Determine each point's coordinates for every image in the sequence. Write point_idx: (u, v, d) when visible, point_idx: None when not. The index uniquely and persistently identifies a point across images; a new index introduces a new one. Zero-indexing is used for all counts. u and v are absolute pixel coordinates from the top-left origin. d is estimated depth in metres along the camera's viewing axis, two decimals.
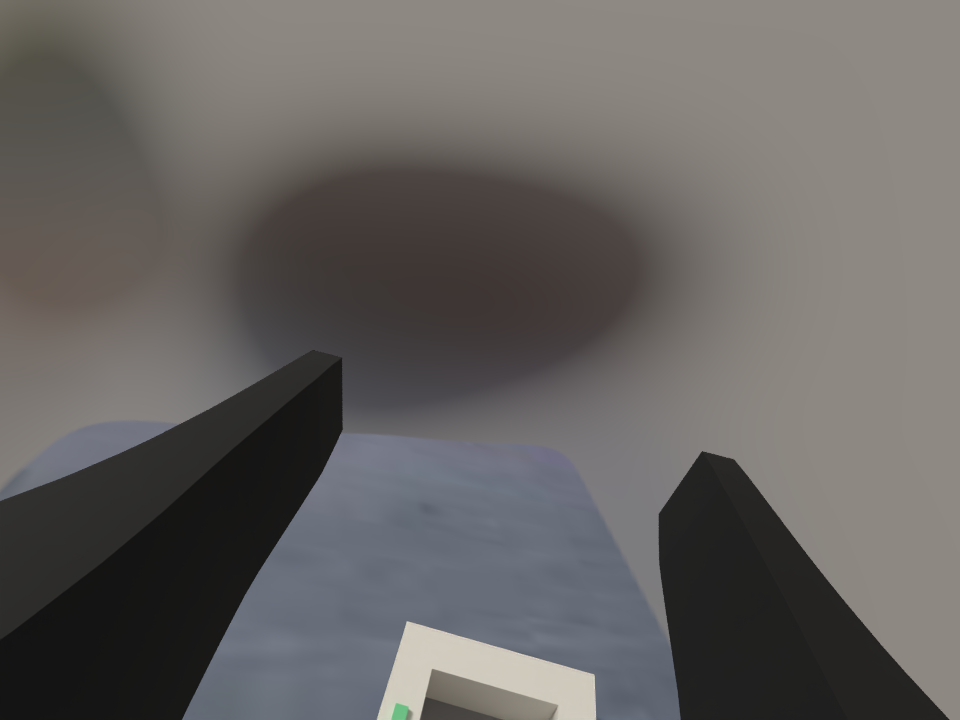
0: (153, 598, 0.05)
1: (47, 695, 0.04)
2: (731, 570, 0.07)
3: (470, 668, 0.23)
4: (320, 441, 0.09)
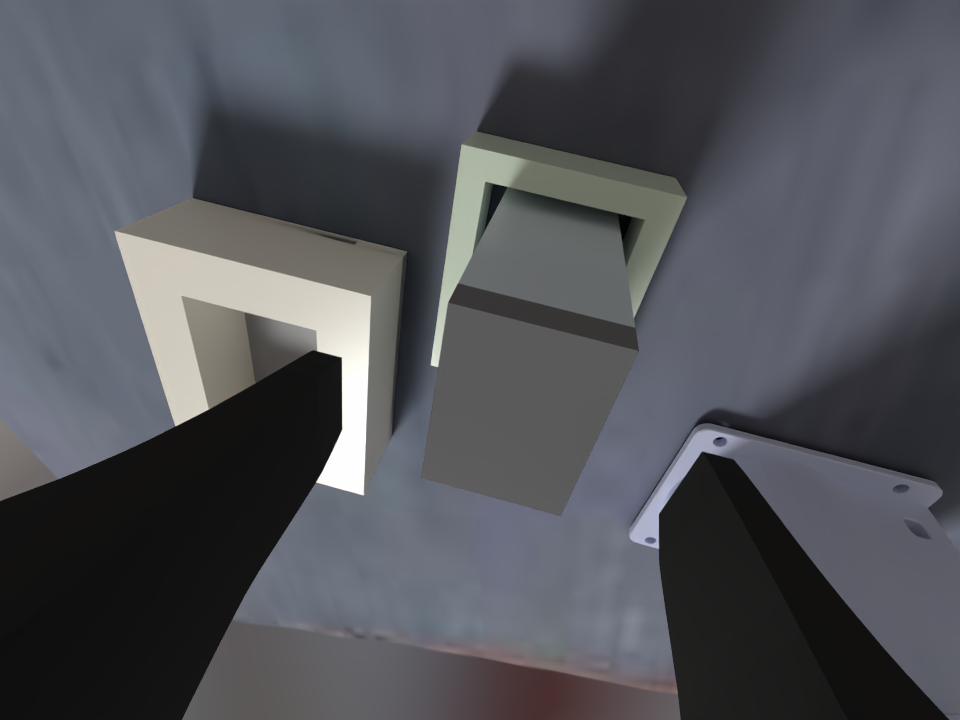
0: (153, 598, 0.05)
1: (47, 695, 0.04)
2: (731, 570, 0.07)
3: (193, 390, 0.18)
4: (320, 441, 0.09)
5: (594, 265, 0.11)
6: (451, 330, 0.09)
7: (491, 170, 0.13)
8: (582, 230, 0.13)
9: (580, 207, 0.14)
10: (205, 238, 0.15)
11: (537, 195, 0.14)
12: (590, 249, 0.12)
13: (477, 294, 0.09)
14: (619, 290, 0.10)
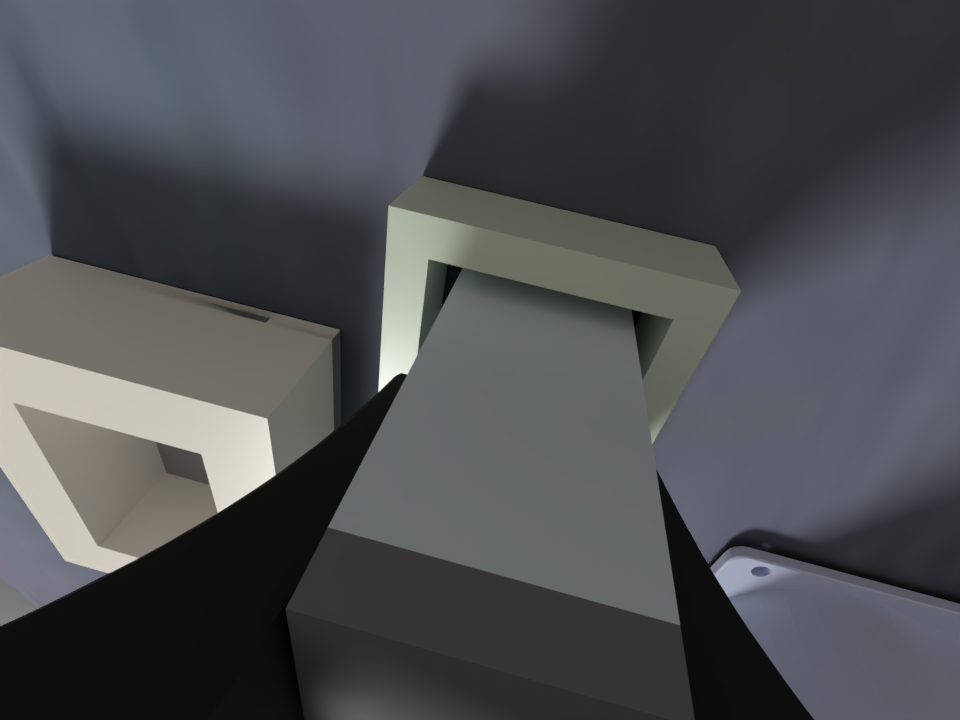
0: None
1: None
2: None
3: (62, 507, 0.14)
4: None
5: (595, 426, 0.06)
6: (304, 643, 0.04)
7: (436, 243, 0.08)
8: (578, 337, 0.08)
9: None
10: (41, 324, 0.11)
11: None
12: (589, 383, 0.07)
13: (361, 560, 0.04)
14: (642, 495, 0.06)
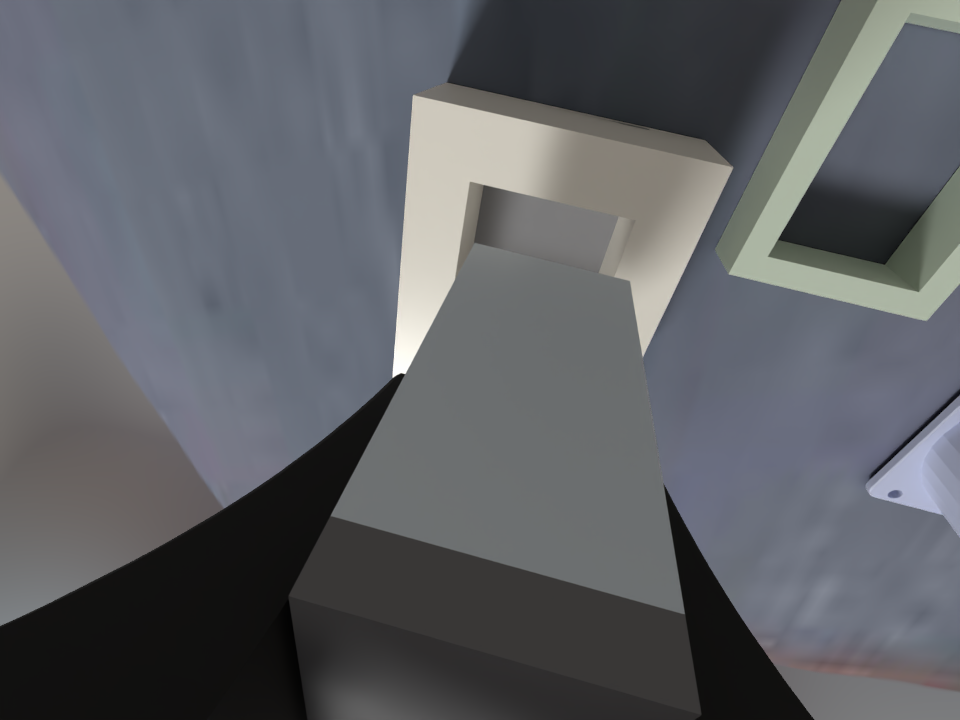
0: None
1: None
2: None
3: (435, 310, 0.16)
4: None
5: (598, 417, 0.06)
6: (307, 631, 0.04)
7: None
8: (580, 330, 0.08)
9: (576, 280, 0.10)
10: (506, 109, 0.13)
11: (514, 261, 0.10)
12: (592, 375, 0.07)
13: (364, 548, 0.04)
14: (645, 485, 0.06)
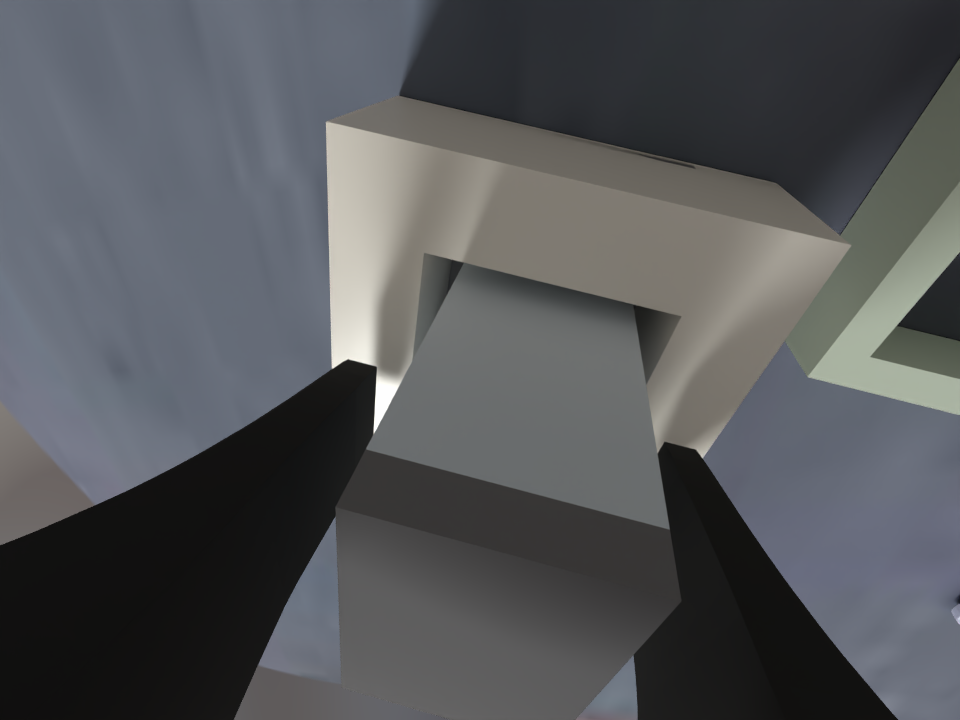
0: (211, 615, 0.05)
1: (120, 717, 0.04)
2: (685, 557, 0.07)
3: None
4: (355, 450, 0.09)
5: (596, 378, 0.07)
6: (348, 543, 0.05)
7: None
8: (580, 305, 0.09)
9: None
10: (479, 143, 0.08)
11: None
12: (591, 343, 0.08)
13: (395, 474, 0.05)
14: (637, 432, 0.06)
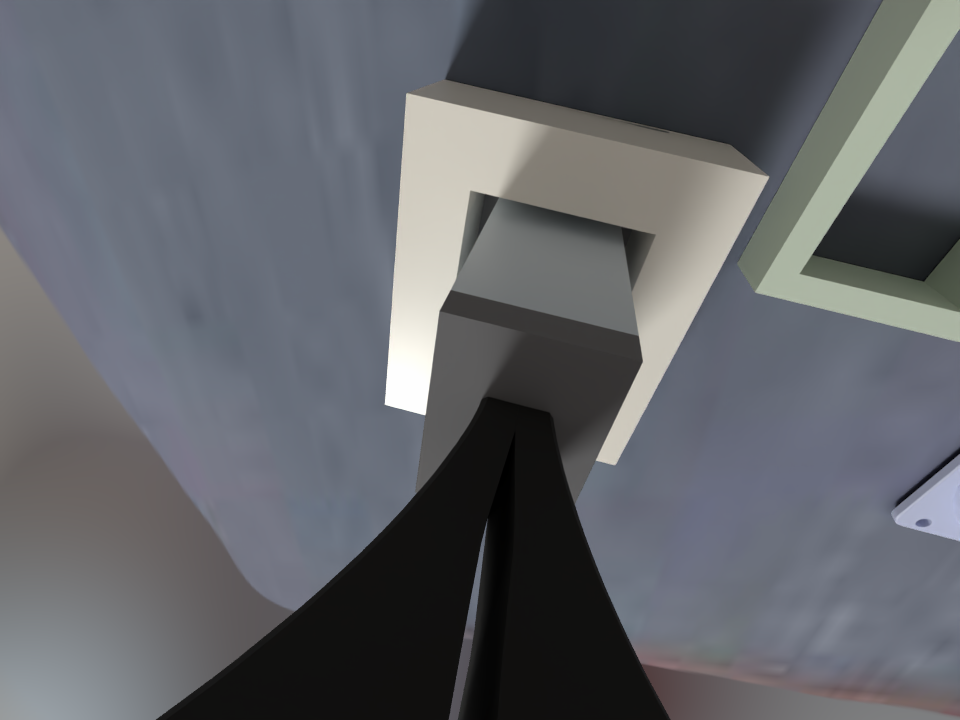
0: None
1: None
2: (505, 509, 0.07)
3: (432, 329, 0.14)
4: None
5: (595, 269, 0.10)
6: (443, 340, 0.08)
7: None
8: (583, 231, 0.12)
9: None
10: (511, 110, 0.11)
11: None
12: (590, 251, 0.11)
13: (471, 301, 0.08)
14: (621, 295, 0.10)
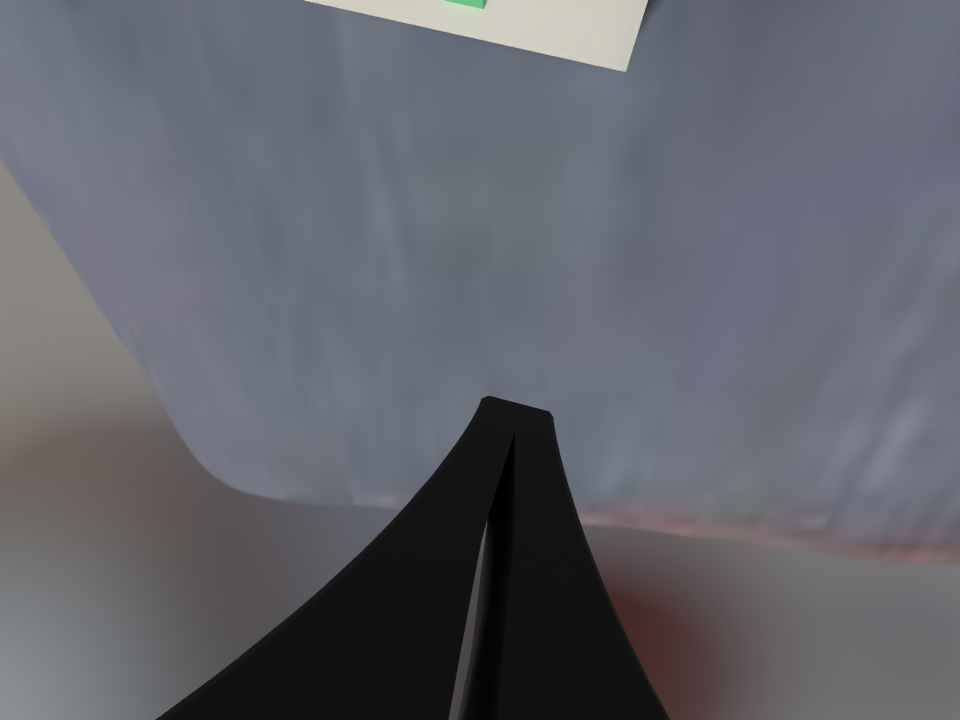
0: None
1: None
2: (505, 509, 0.07)
3: None
4: (496, 488, 0.09)
5: None
6: None
7: None
8: None
9: None
10: None
11: None
12: None
13: None
14: None
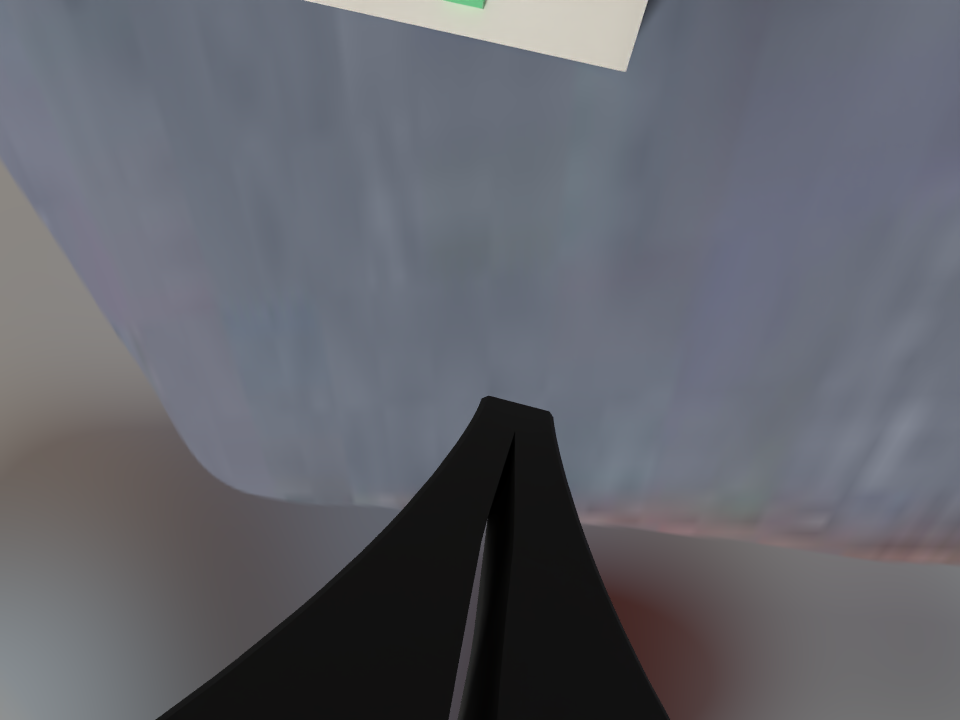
0: None
1: None
2: (505, 509, 0.07)
3: None
4: (496, 488, 0.09)
5: None
6: None
7: None
8: None
9: None
10: None
11: None
12: None
13: None
14: None
